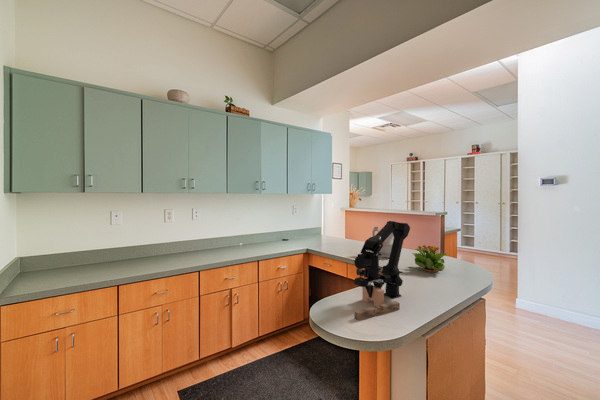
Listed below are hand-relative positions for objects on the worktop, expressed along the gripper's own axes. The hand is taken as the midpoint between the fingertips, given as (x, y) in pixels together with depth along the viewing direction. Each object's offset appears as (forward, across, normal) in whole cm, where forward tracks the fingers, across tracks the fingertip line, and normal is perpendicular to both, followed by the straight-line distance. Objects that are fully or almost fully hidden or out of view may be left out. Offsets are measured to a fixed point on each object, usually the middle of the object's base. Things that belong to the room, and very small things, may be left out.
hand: (372, 297), depth 134 cm
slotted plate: (+3, 0, 0) cm, 3 cm away
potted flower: (+3, -73, -25) cm, 77 cm away
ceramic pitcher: (+3, -78, -73) cm, 107 cm away
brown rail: (+3, +6, +10) cm, 12 cm away
